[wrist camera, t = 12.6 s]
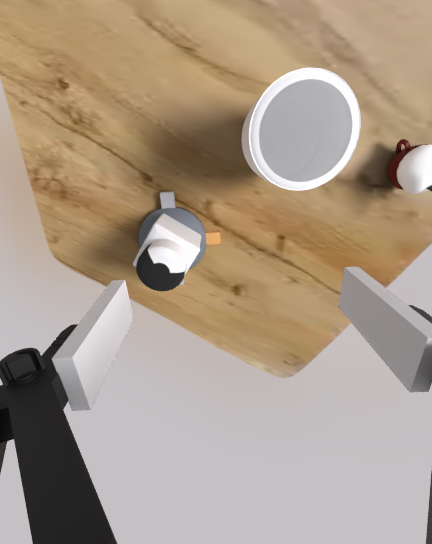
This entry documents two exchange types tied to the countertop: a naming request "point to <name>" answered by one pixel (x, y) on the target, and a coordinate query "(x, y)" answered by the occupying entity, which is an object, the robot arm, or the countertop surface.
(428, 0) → the countertop surface
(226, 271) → the countertop surface
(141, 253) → the medicine bottle
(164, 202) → the pad
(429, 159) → the cocoa
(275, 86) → the jar
